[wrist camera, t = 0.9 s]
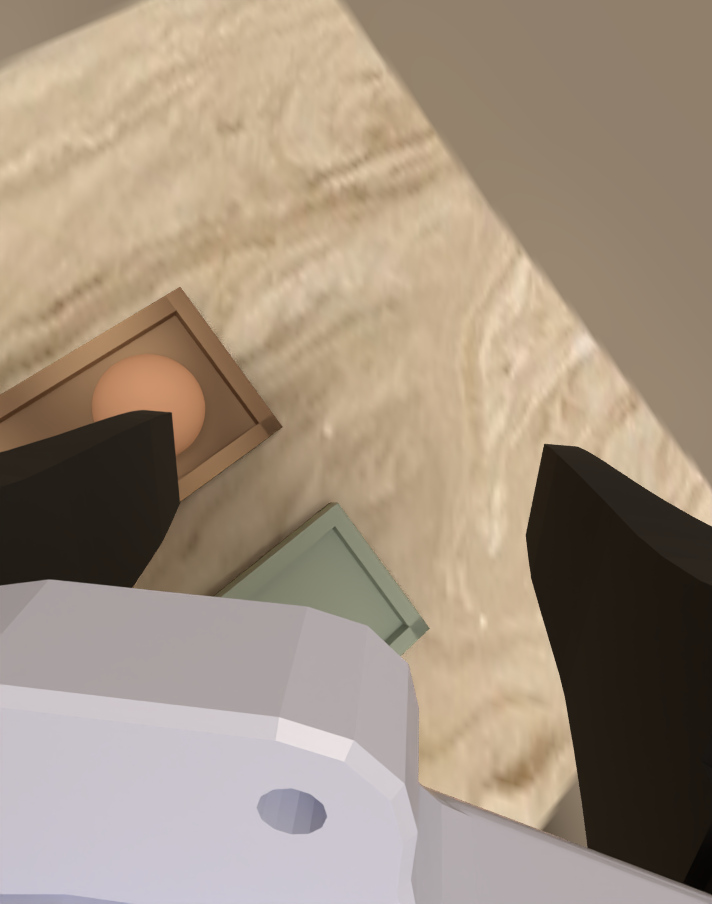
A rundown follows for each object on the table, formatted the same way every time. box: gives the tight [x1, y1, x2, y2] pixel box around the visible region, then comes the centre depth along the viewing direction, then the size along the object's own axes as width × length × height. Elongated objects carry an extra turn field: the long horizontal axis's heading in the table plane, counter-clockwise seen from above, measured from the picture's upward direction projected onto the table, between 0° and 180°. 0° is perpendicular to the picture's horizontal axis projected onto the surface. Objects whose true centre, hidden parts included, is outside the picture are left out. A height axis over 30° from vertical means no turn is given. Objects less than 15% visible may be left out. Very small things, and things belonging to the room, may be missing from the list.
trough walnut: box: [0, 287, 282, 502], centre depth 23 cm, size 17×7×1 cm, turn 127°
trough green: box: [213, 503, 430, 656], centre depth 25 cm, size 17×7×1 cm, turn 127°
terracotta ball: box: [92, 354, 205, 455], centre depth 23 cm, size 4×4×4 cm
